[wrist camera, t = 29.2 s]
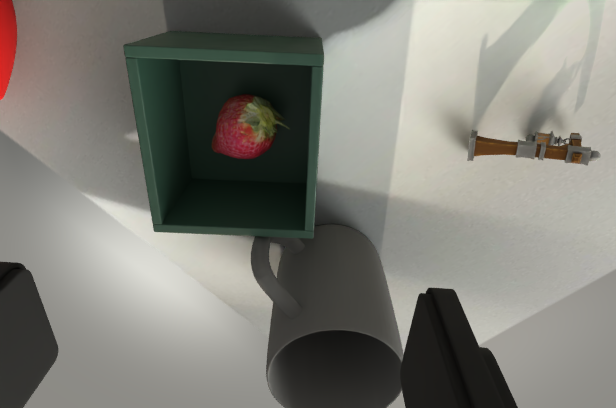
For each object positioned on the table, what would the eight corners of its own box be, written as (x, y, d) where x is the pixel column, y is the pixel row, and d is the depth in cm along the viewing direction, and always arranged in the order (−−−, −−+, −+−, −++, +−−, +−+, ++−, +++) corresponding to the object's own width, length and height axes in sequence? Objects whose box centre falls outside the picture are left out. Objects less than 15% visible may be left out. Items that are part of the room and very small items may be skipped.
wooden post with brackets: (589, 150, 29) (598, 174, 26) (472, 141, 33) (466, 162, 29) (595, 126, 29) (606, 148, 25) (475, 120, 32) (469, 138, 28)
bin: (170, 30, 27) (122, 44, 20) (321, 37, 27) (324, 54, 20) (187, 181, 32) (153, 232, 26) (313, 187, 32) (313, 239, 26)
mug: (399, 275, 36) (434, 392, 26) (316, 317, 39) (317, 440, 28) (313, 160, 31) (312, 248, 21) (224, 218, 34) (184, 322, 23)
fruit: (195, 117, 29) (174, 140, 25) (263, 72, 28) (253, 88, 23) (230, 163, 31) (216, 192, 26) (296, 124, 29) (293, 148, 25)
